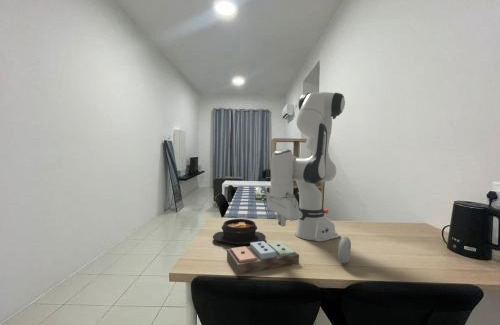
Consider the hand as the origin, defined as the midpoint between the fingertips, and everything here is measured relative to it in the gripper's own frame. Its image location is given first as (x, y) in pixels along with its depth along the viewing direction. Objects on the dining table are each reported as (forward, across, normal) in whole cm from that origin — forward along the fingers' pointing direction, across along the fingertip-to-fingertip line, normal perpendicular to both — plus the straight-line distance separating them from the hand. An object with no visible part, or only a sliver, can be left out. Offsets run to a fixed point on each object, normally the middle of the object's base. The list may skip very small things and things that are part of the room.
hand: (281, 225), depth 96 cm
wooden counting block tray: (+13, 0, +9) cm, 15 cm away
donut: (+14, -12, -21) cm, 28 cm away
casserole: (+13, +23, +10) cm, 29 cm away
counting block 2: (+11, 0, +9) cm, 14 cm away
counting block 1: (+12, 0, +17) cm, 20 cm away
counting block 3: (+12, 0, +1) cm, 12 cm away
